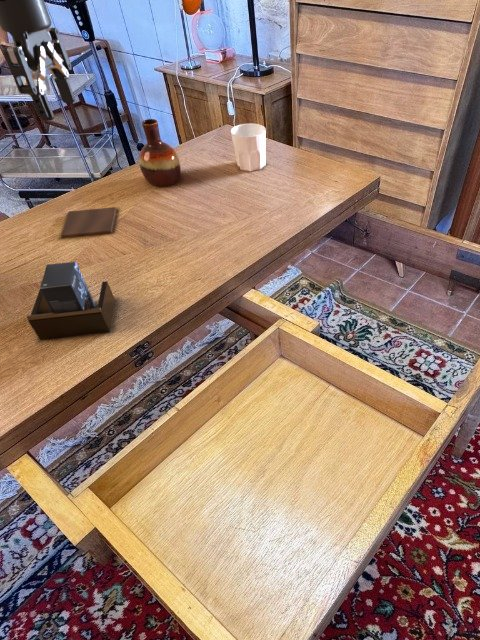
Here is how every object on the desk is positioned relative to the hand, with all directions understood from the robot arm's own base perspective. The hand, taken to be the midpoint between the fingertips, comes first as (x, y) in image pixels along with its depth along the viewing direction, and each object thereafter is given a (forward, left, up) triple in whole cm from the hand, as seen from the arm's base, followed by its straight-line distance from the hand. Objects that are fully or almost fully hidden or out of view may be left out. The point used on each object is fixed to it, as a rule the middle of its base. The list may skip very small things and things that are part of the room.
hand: (59, 110), depth 79 cm
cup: (+36, +44, -31) cm, 65 cm away
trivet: (-8, +18, -31) cm, 37 cm away
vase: (+10, +39, -31) cm, 51 cm away
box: (-5, -20, -31) cm, 37 cm away
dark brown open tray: (-5, -20, -31) cm, 37 cm away
